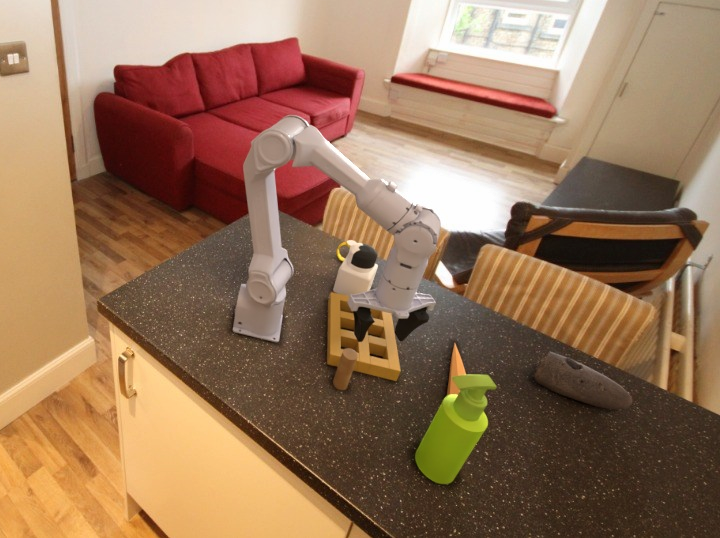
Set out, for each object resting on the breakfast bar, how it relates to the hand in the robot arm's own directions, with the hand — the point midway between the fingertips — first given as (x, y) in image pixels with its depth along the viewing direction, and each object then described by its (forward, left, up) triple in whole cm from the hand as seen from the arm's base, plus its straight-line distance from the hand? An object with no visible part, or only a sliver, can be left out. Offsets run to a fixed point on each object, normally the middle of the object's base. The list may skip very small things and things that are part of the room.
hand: (378, 337), depth 79 cm
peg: (-5, -4, -10) cm, 11 cm away
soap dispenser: (+9, -15, -10) cm, 20 cm away
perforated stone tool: (+38, +7, -10) cm, 40 cm away
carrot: (+17, +4, -10) cm, 20 cm away
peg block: (-1, +9, -10) cm, 13 cm away
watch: (-3, +35, -10) cm, 37 cm away
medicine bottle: (-2, +24, -10) cm, 26 cm away
